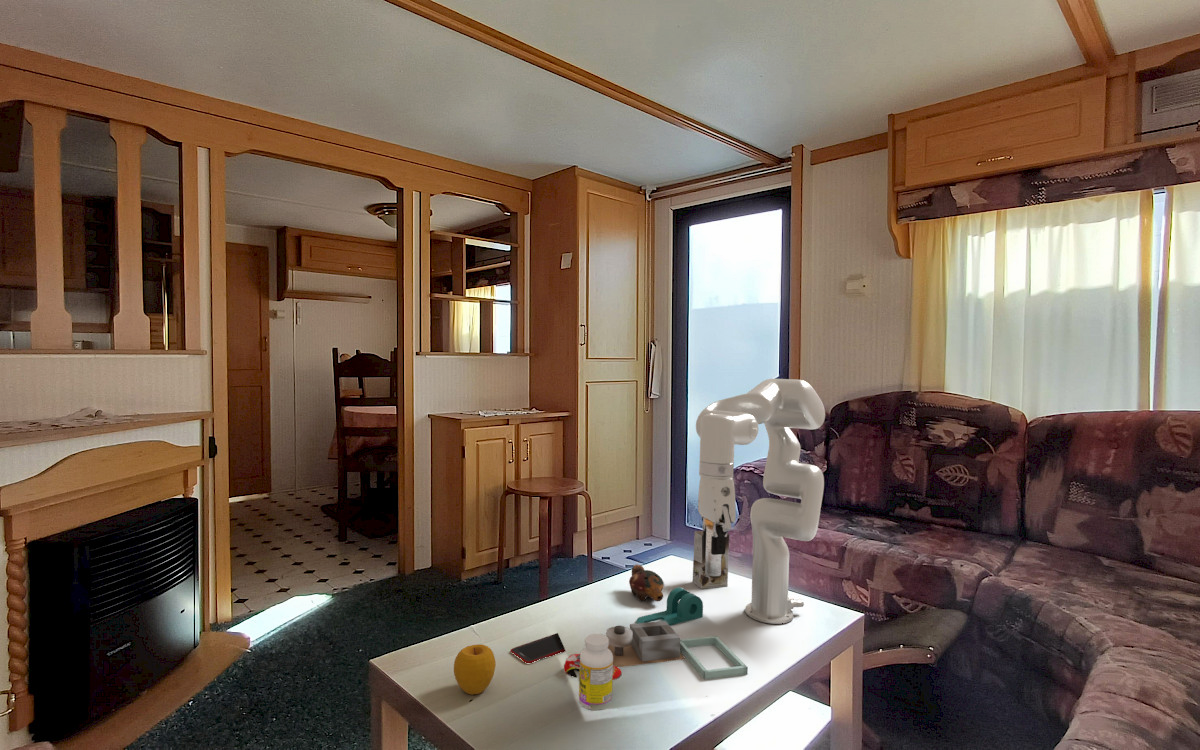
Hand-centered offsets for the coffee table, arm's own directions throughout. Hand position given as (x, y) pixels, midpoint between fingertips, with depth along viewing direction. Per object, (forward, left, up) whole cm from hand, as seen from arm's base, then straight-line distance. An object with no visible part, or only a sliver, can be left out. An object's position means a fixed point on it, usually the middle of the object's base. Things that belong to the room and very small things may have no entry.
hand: (713, 550), depth 135 cm
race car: (+27, -2, -27) cm, 38 cm away
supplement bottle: (+29, +8, -27) cm, 40 cm away
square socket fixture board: (+14, -7, -26) cm, 31 cm away
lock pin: (0, 0, -5) cm, 5 cm away
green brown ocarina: (+1, -40, -27) cm, 48 cm away
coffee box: (-22, -46, -27) cm, 58 cm away
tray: (0, 0, -26) cm, 26 cm away
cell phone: (+35, -16, -27) cm, 47 cm away
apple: (+52, -2, -27) cm, 58 cm away
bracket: (+2, -22, -27) cm, 35 cm away
